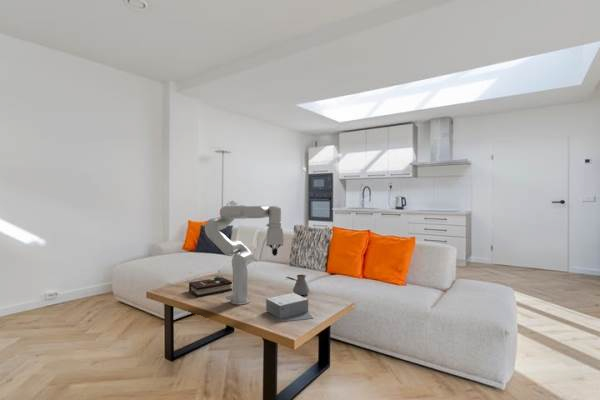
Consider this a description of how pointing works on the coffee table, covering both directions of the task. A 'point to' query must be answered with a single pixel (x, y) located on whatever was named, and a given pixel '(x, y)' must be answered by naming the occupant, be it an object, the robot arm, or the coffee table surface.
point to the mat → (295, 317)
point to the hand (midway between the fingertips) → (274, 255)
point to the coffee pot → (300, 285)
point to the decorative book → (210, 286)
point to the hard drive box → (286, 305)
